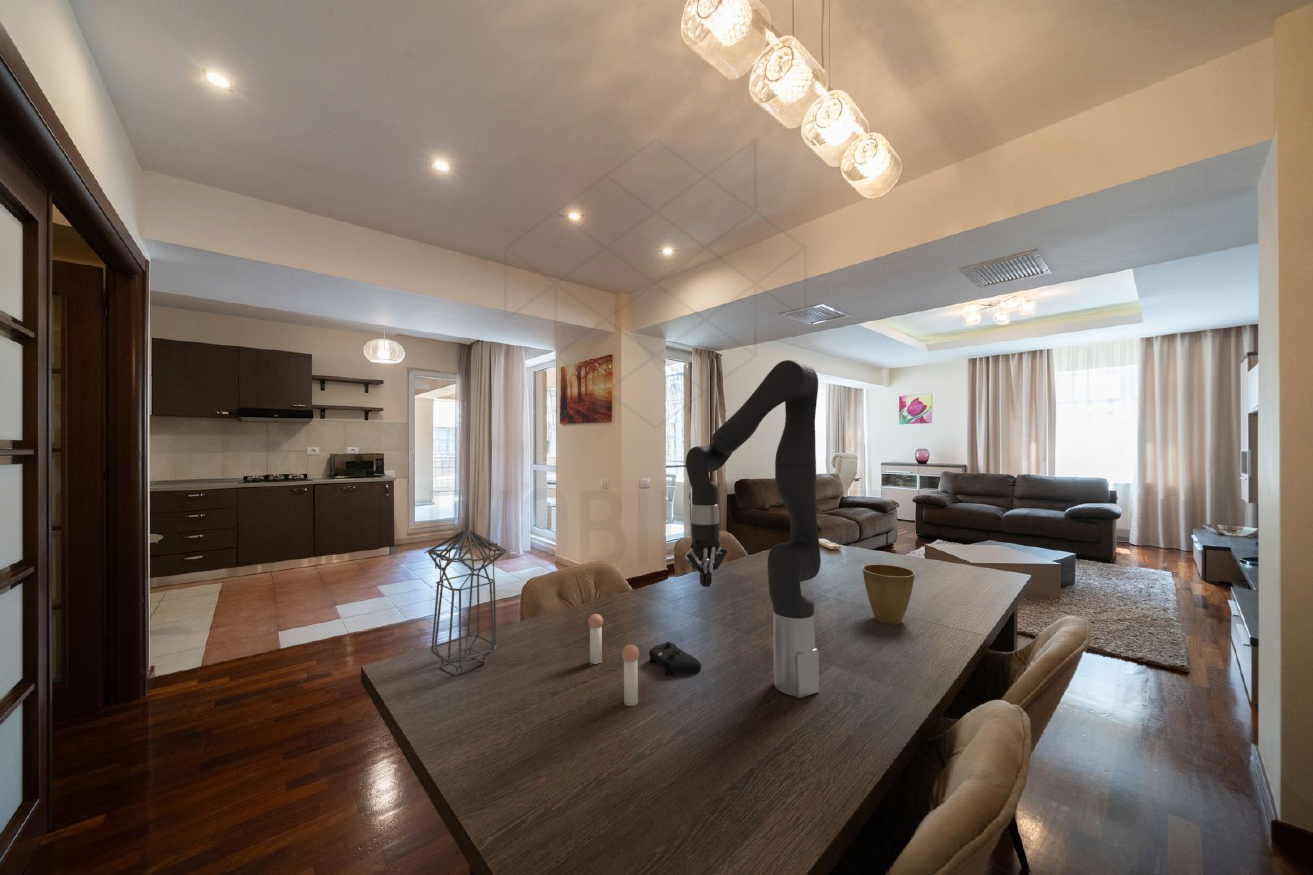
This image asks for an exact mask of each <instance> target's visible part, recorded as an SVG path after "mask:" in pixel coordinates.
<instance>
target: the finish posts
mask: <svg viewBox="0 0 1313 875" xmlns="http://www.w3.org/2000/svg"><path fill="white" fill-rule="evenodd" d="M603 625H604V618H603V617H602V616H601V615H600V614H599V613H594V614H592V615H590V617H589V618H588V626H589V656H590V657H589V660H590V661H589V664H590V663H593V664H598V663H601V664H602V663H603V654H602V653H603V649H602V648H603V647H602V645H603V644H602V642H603V639H602V637H603V636H602V634H603V633H602V629H603V628H602V626H603ZM624 646H625V645H624ZM621 656H622V659H623V695H624V696H623V700H624V703H623V704H624V705H625V706H627V707H635V706H637V705H638V703H639V685H638V684H639V680H638V679H639V676H638V671H639V670H638V669H639V668H638V667H639V666H638V663H639V662H638V660H639V658H640V650H639V648H638V647H637V646H636V645H634V644H632V643H631V644H630V643H629V644H627V645H626V646H625V647H623V649H622V651H621Z"/></svg>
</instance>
